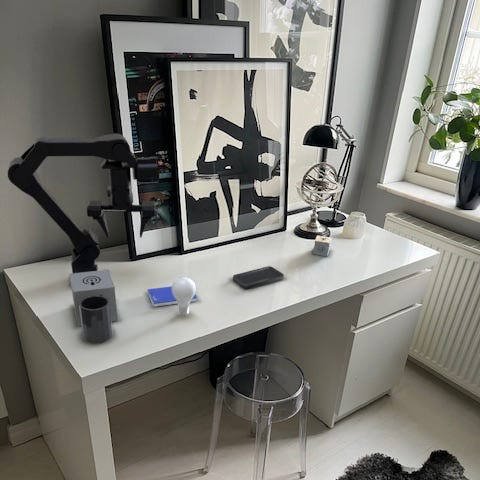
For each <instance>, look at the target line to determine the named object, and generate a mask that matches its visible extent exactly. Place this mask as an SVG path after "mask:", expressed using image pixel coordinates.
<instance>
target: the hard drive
mask: <svg viewBox="0 0 480 480" xmlns="http://www.w3.org/2000/svg"><path fill="white" fill-rule="evenodd" d="M146 291H147V295H148V298H149V300H150V302H151V305H152V307H153V308H154V307H162V306H170V305H178V303H177V300H176V299H175V297H174V296H173V294H172V285H171V286H164V287H163V286H162V287H155V288H154V287H153V288H147V290H146ZM197 301H198V297H197V295H196V293H195V295H194V297H193V298H192V299H191V301H190V303H191V302H192V303H193V302H197Z"/></svg>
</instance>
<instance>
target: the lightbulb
mask: <svg viewBox="0 0 480 480" xmlns="http://www.w3.org/2000/svg"><path fill="white" fill-rule="evenodd" d="M171 286H172V294H173V296H174V297H175V299H176V300H177V303H178V304H177V305H178V314H179V315H180V316H183V317H184V316H187V315H189V314H190V308H189V307H190V305H191V302H190V301H191V299H192V298H193V297H194V295H195V294H196V293H197V287H196V284H195V282H194V281H193V280H192V279H191V278H189V277H178V278H177V279H175V280H174V282H173V283H172V285H171Z"/></svg>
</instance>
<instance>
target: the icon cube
mask: <svg viewBox="0 0 480 480" xmlns="http://www.w3.org/2000/svg"><path fill="white" fill-rule="evenodd" d="M69 279H70V286H71V293H72V300H73V301H72V302H73V307H74V313H75V314H74V315H75V318H76V324H77V327H82V324H81V317H80V309H79V302H80V301H81V300H82V299H83V298H85V297H88V296H93V295H99V296H104V297H106V298H108V299H109V301H110V311H111V322H117V321H118V312H117V310H118V309H117V299H116V287H115V283H114V281H113V278H112V274H111V272H110V269H101V270H98V271H91V272H81V273H72V272H71V273H69Z"/></svg>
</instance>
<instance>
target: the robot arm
mask: <svg viewBox="0 0 480 480" xmlns="http://www.w3.org/2000/svg"><path fill="white" fill-rule="evenodd" d="M48 157H96V158H101V159H104V160H103V161H102V162H100V168H101V169H102V170H108V178H109V185H107V186H106V195H107V198H110V203H111V204H104V201H103V200H89V201H88V203H87V206H86V214H87V217H88V218H92V220H95V221H96V222H97V223H98V224H99V226H100V227H101V229H102V230H103V232H104V234H105V236H106V239H109V238H110V231H109V226H108V223H107V216H106V213H141V215H140V223H139V225H140V226H139V238H140V239H141V238H142V237H143V233H144V231H145V227H146V225H147V223H148V222H149V221H150V220H152V219H153V218H155V217H157V202H156V201H155V200H142V201H141V204H134V193H133V190H132V179H133V181H135V180H136V182H137V184H158V183H160V171H159V165H158V159H157V157H156V156H149V157H136V155H135V153H134V152H133V151H131V146H130V144H129V142H128V140H127V139H126V137H125V136H124V135H122V134H120V133H110V134H104V135H101V136H97V137H94V138H46V137H38V138H36V139H35V141H34V142H33V143H32V145H31V146H29V147H28V148H27V149H26V150H24V152H23V153H22V154H21V156H18V157H15V158H13V159H12V160H11V161H10V162H9V164H8V168H7V178H8V180H9V182H10V183H11V184H13V186H15V187H16V188H17V189H18V190H20V191H21V192H22V193H24V194H26V195H28V196H29V197H31V198H32V199H34V201H35V202H36V203H37V204H38V205H39V206H40V207H41V208H42V209H43V210H44V212H45V213H47V215H48V216H49V217H50V218H51V219H52V220H53V221H54V223H55V224H56V225H57V226H58V227H59V228H60V229H61V230H62V232H64V234H66V236H67V237H68V238H69V239H70V242H71V244H72V245H73V248H72V249H71V250H70V253H71V271H72V272H71V274H72V273H81V272H91V271H99V268H98V267H99V266H98V264H97V263H96V260H97V259H98V258H99V256H100V255H101V254H100V253H101V249H100V242H99V238H98V234H96V233H94V232H93V231H92V229H91V227H90V225H87V226H86V227H85V228H84V227H82V226H81V225H80V224H78V222H76V220H75V219H74V218H73V217H72V216H71V215H70V214H69V212H68V211H67V210H66V208H64V206H63V205H62V204H61V203H60V202H59V201H58V200H57V198H56V197H54V196H53V195H54V194H52V193H51V192H50V190H48V189H47V187H46V186H45V185H44V183H43V181H42V179H41V177H40V175H39V174H38V172H37V170H38V169H39V167H41V165H42V163H43V162H44V161H45V160H46V159H47V158H48ZM131 171H132V173H131Z"/></svg>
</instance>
